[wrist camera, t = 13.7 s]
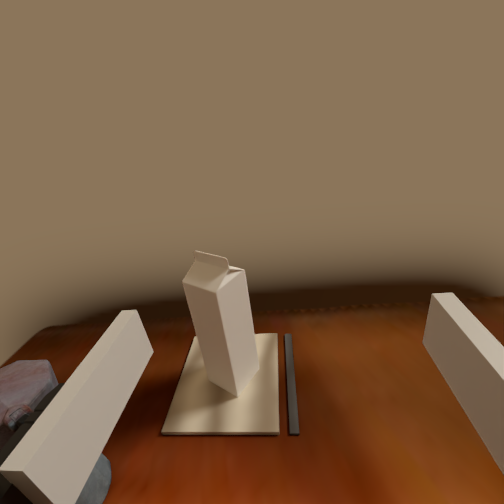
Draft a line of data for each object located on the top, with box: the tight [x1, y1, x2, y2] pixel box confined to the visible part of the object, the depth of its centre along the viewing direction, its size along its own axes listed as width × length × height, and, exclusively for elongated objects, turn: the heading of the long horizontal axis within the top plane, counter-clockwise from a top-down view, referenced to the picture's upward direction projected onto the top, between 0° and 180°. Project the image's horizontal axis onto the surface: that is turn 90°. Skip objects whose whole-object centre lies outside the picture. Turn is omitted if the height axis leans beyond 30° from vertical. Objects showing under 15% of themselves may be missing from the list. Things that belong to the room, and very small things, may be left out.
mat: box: [162, 333, 299, 435], centre depth 45 cm, size 19×18×1 cm
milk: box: [182, 251, 259, 397], centre depth 40 cm, size 6×6×22 cm
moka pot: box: [0, 360, 111, 504], centre depth 28 cm, size 10×15×20 cm, turn 66°
